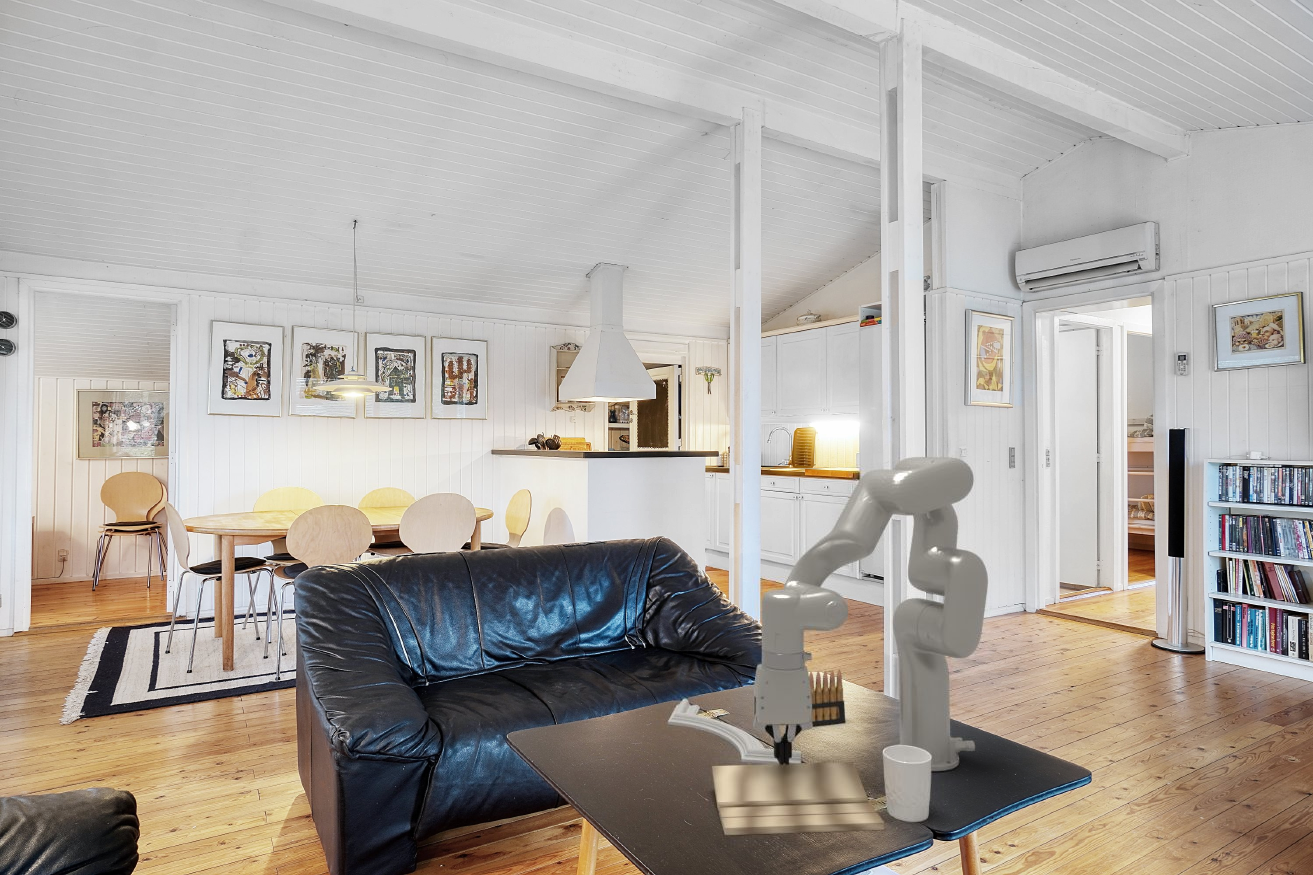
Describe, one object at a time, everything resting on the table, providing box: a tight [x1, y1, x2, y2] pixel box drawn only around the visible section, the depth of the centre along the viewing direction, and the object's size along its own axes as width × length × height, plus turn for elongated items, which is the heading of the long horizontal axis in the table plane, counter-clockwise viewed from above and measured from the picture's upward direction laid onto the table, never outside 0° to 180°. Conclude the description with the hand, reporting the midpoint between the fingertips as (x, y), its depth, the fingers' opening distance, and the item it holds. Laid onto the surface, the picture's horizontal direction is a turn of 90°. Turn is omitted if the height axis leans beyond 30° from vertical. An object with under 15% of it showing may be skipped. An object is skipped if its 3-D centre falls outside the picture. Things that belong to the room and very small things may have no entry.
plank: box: [711, 761, 870, 812], centre depth 136 cm, size 26×9×1 cm, turn 93°
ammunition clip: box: [809, 668, 846, 728], centre depth 173 cm, size 11×2×12 cm, turn 106°
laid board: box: [718, 802, 885, 836], centre depth 127 cm, size 26×7×1 cm, turn 93°
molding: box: [667, 698, 802, 765], centre depth 166 cm, size 42×12×3 cm, turn 33°
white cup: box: [882, 744, 932, 823], centre depth 131 cm, size 8×8×10 cm
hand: (782, 761), depth 139 cm, fingers closed
